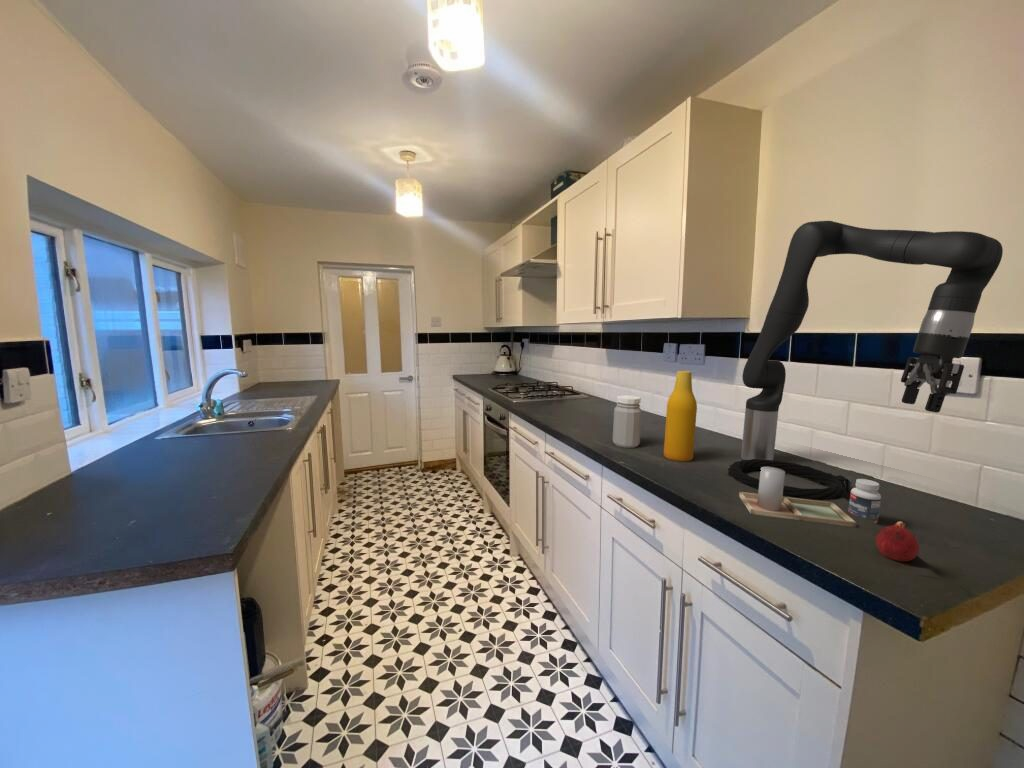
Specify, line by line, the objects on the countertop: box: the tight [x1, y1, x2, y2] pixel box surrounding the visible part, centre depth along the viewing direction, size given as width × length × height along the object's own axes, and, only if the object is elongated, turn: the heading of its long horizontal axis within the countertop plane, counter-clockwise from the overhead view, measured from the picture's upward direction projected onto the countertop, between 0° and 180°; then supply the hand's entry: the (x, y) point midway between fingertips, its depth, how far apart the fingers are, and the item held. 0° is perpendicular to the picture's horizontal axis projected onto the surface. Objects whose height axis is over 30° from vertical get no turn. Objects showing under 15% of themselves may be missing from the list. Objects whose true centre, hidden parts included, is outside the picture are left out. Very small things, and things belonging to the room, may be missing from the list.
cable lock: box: [727, 459, 853, 501], centre depth 114 cm, size 28×4×30 cm
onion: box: [875, 521, 920, 563], centre depth 75 cm, size 6×6×8 cm
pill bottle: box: [847, 478, 882, 524], centre depth 93 cm, size 5×5×9 cm
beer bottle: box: [663, 370, 698, 463], centre depth 135 cm, size 9×9×29 cm
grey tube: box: [757, 467, 786, 511], centre depth 96 cm, size 5×5×9 cm
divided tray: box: [738, 491, 858, 528], centre depth 95 cm, size 11×20×2 cm, turn 74°
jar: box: [612, 394, 643, 449], centre depth 150 cm, size 10×10×18 cm
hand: (919, 407), depth 89 cm, fingers open, 8 cm apart
